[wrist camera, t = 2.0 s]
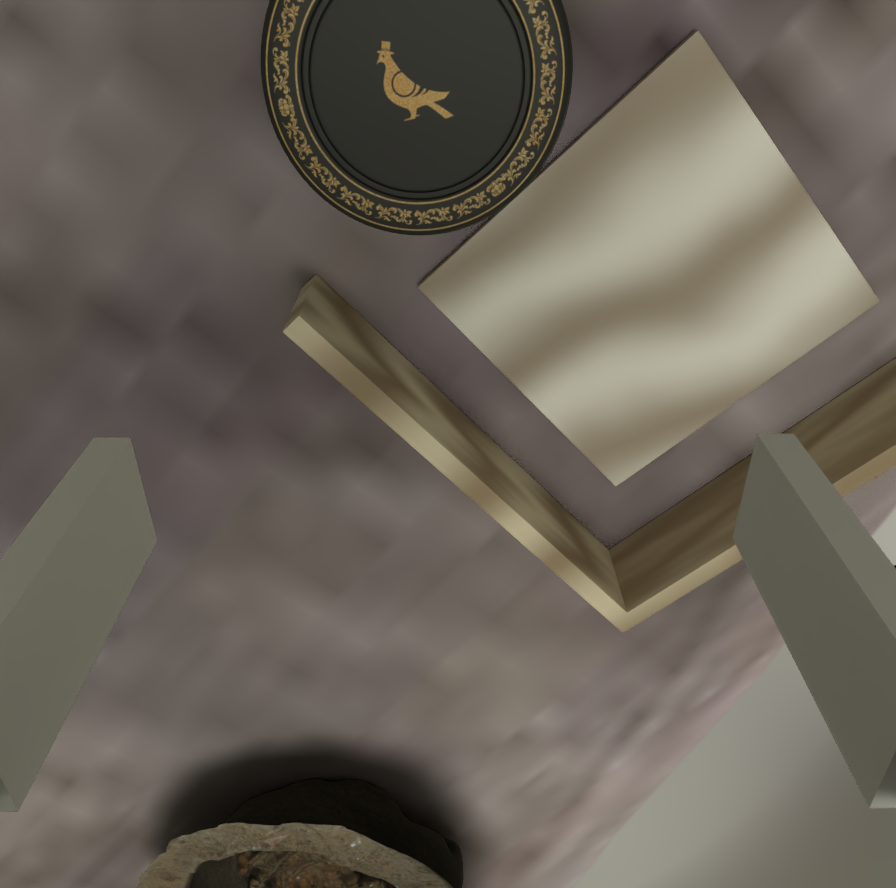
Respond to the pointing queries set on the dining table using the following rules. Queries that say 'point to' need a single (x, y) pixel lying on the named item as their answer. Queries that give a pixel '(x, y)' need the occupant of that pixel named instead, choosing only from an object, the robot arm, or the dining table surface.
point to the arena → (632, 328)
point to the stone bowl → (311, 845)
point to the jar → (417, 103)
